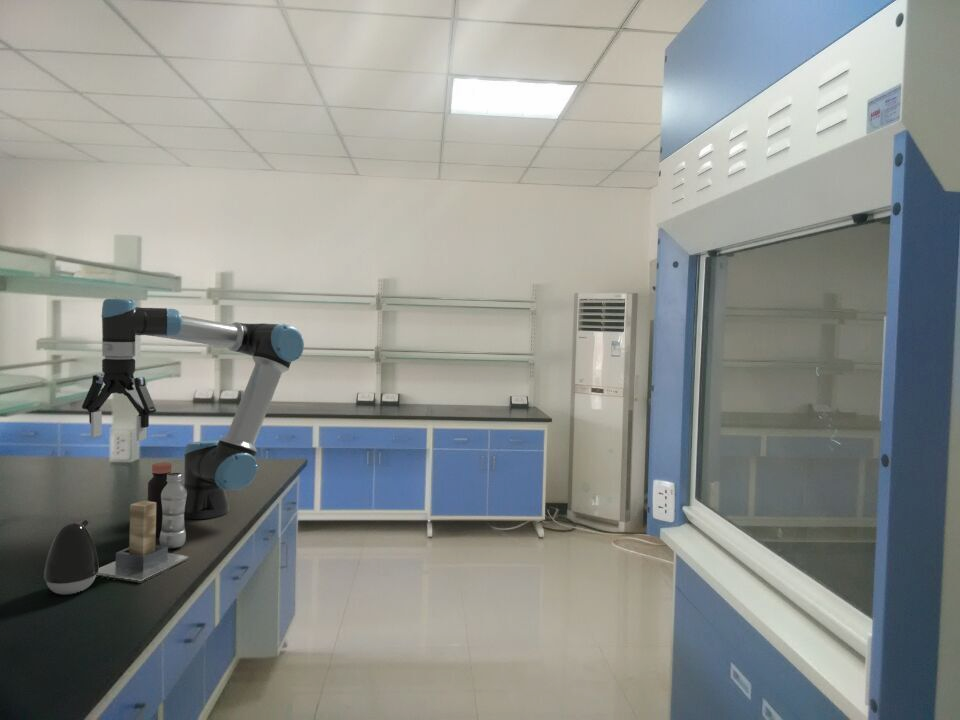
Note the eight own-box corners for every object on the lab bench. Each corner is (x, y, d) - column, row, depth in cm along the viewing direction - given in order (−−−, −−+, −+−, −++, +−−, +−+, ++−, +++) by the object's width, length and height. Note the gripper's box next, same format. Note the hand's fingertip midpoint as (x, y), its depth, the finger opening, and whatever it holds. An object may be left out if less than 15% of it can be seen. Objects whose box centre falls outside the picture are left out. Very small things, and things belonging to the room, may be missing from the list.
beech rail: (141, 559, 155) (142, 500, 155) (154, 561, 154) (156, 502, 154) (128, 565, 151) (130, 504, 151) (142, 567, 150) (144, 506, 150)
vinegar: (169, 536, 175) (171, 466, 174) (143, 537, 174) (145, 466, 173) (176, 529, 182) (178, 461, 181) (151, 529, 180) (152, 461, 179)
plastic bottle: (178, 541, 172) (180, 470, 171) (190, 547, 168) (192, 474, 167) (154, 546, 167) (156, 473, 166) (165, 553, 163) (167, 478, 162)
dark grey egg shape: (108, 580, 144) (109, 516, 144) (80, 600, 134) (82, 531, 133) (63, 579, 144) (64, 515, 143) (32, 598, 133) (33, 529, 133)
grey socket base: (143, 552, 162) (143, 535, 162) (188, 560, 159) (189, 542, 159) (91, 575, 147) (91, 556, 147) (140, 583, 143) (141, 564, 143)
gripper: (65, 356, 161) (66, 437, 162) (150, 360, 156) (150, 444, 158) (89, 355, 168) (89, 432, 169) (170, 359, 164) (170, 438, 165)
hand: (118, 438), depth 164 cm, fingers open, 13 cm apart
